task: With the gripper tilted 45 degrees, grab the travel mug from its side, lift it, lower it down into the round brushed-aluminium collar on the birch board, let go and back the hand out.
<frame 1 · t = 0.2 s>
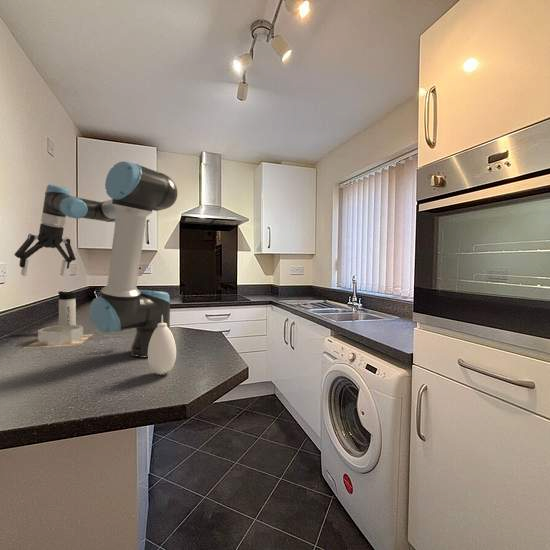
hand: (44, 275, 120), 28 cm above the worktop, tool tilted 15°, fingers open, 13 cm apart
birch board: (61, 343, 120), on the worktop
travel mug: (67, 335, 133), on the worktop
sauce bottle: (162, 375, 88), on the worktop
collar: (61, 340, 120), resting on birch board
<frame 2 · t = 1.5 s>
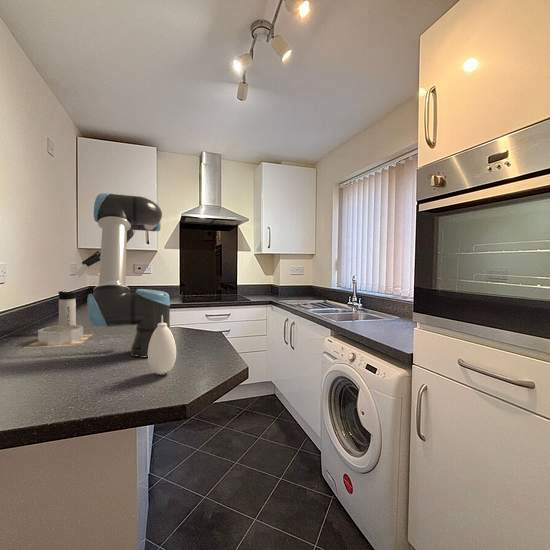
hand: (88, 275, 143), 27 cm above the worktop, tool tilted 45°, fingers open, 13 cm apart
nothing on the worktop moved.
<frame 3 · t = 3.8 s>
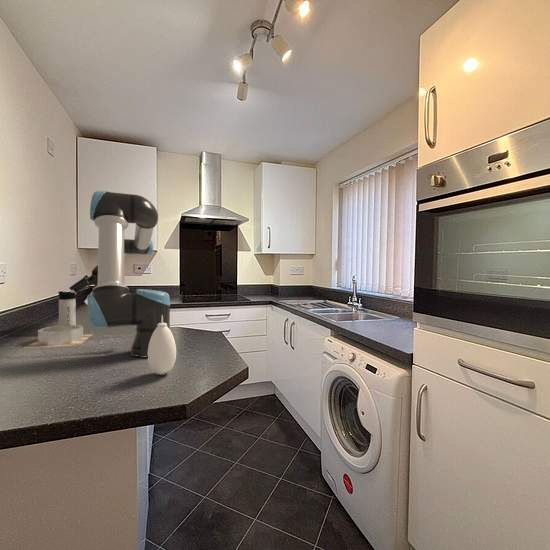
hand: (75, 302, 138), 14 cm above the worktop, tool tilted 45°, fingers open, 13 cm apart
nothing on the worktop moved.
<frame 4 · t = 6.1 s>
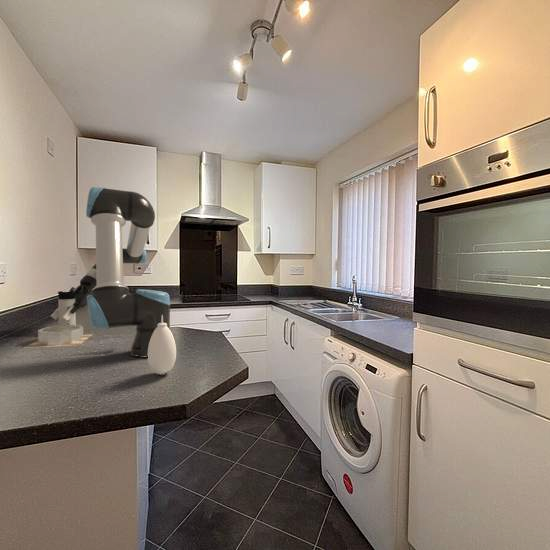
hand: (59, 318, 130), 8 cm above the worktop, tool tilted 45°, fingers closed on travel mug, 6 cm apart
travel mug: (67, 335, 133), on the worktop, touching gripper
everything else where it was.
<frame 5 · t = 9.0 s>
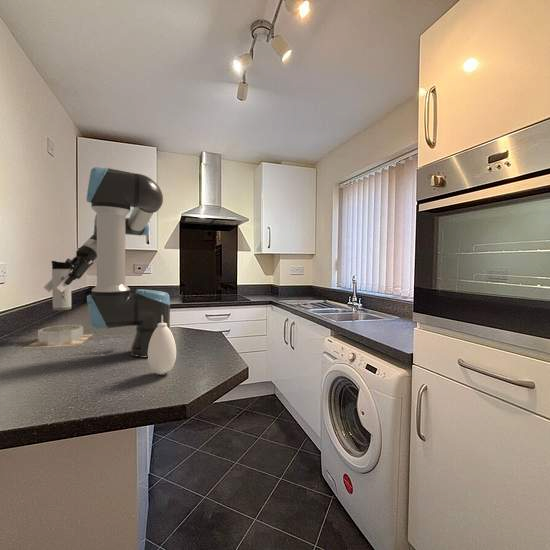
hand: (52, 289, 117), 22 cm above the worktop, tool tilted 45°, fingers closed on travel mug, 6 cm apart
travel mug: (61, 309, 121), point 14 cm above the worktop, touching gripper
everything else where it was.
when the fingers open (11 cm above the worktop, at t = 12.1 s): travel mug drops 1 cm, resting on birch board.
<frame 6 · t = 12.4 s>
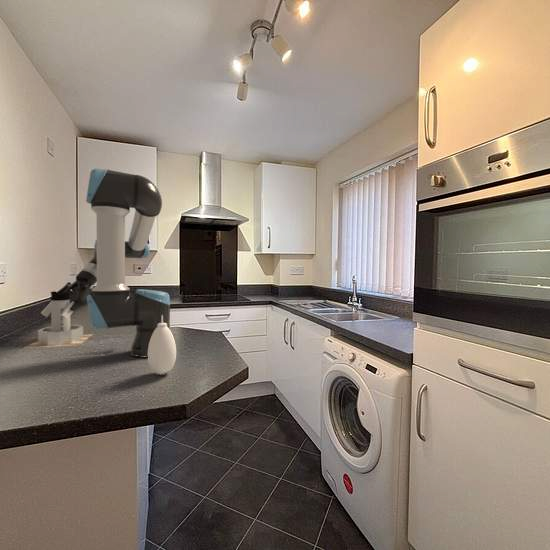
hand: (53, 315, 117), 12 cm above the worktop, tool tilted 45°, fingers open, 10 cm apart
travel mug: (60, 340, 120), point 1 cm above the worktop, touching birch board
everything else where it was.
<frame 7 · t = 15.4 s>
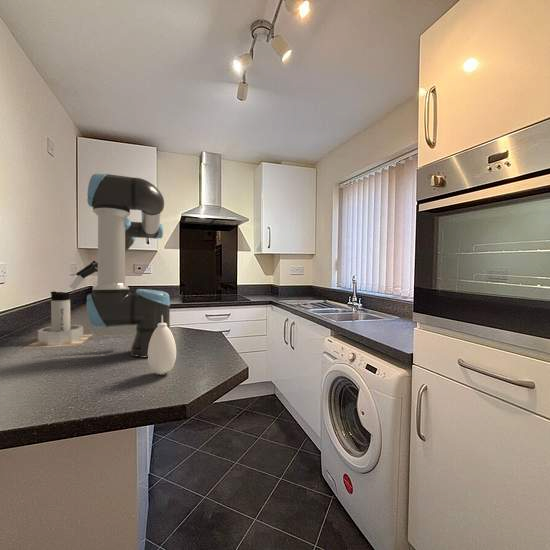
hand: (83, 288, 129), 22 cm above the worktop, tool tilted 45°, fingers open, 13 cm apart
nothing on the worktop moved.
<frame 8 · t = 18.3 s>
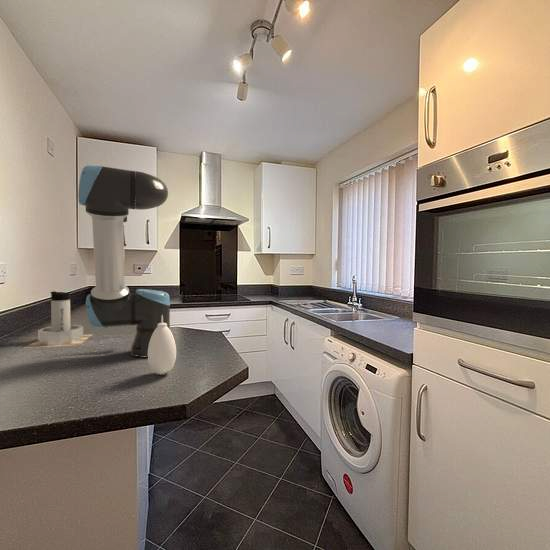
hand: (117, 259, 133), 35 cm above the worktop, tool pointing down, fingers open, 13 cm apart
nothing on the worktop moved.
at the end: travel mug 0.4 cm off-centre on the collar, point 0.0 cm above the collar's base; travel mug tilted 0°; the gripper is holding nothing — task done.
